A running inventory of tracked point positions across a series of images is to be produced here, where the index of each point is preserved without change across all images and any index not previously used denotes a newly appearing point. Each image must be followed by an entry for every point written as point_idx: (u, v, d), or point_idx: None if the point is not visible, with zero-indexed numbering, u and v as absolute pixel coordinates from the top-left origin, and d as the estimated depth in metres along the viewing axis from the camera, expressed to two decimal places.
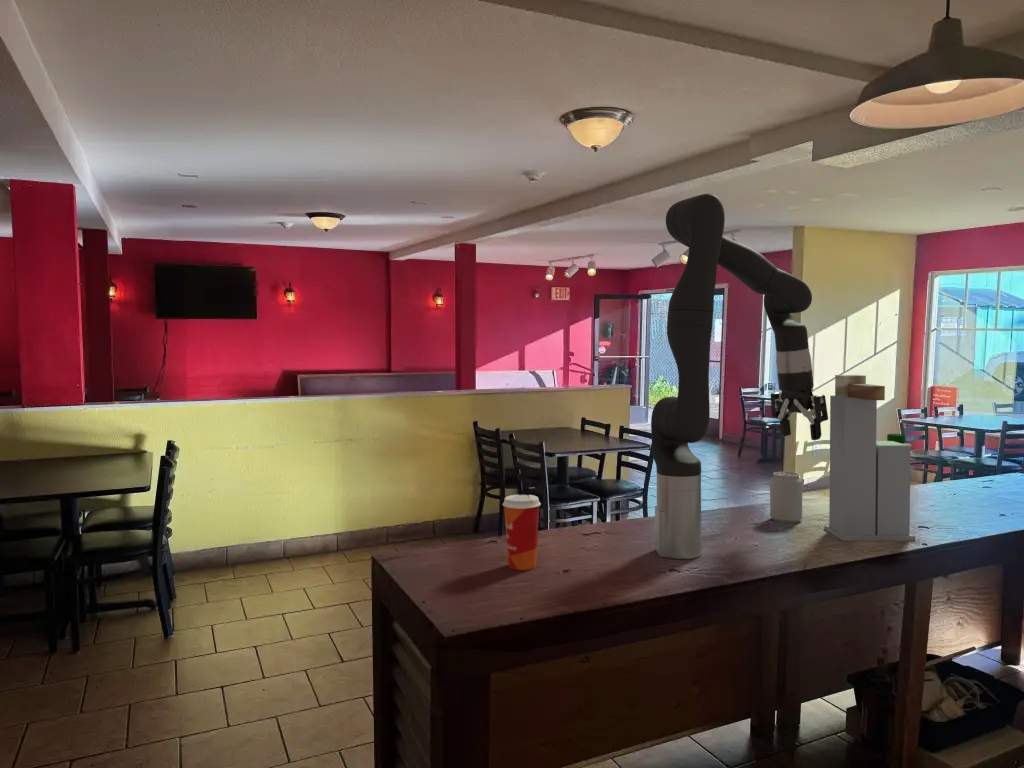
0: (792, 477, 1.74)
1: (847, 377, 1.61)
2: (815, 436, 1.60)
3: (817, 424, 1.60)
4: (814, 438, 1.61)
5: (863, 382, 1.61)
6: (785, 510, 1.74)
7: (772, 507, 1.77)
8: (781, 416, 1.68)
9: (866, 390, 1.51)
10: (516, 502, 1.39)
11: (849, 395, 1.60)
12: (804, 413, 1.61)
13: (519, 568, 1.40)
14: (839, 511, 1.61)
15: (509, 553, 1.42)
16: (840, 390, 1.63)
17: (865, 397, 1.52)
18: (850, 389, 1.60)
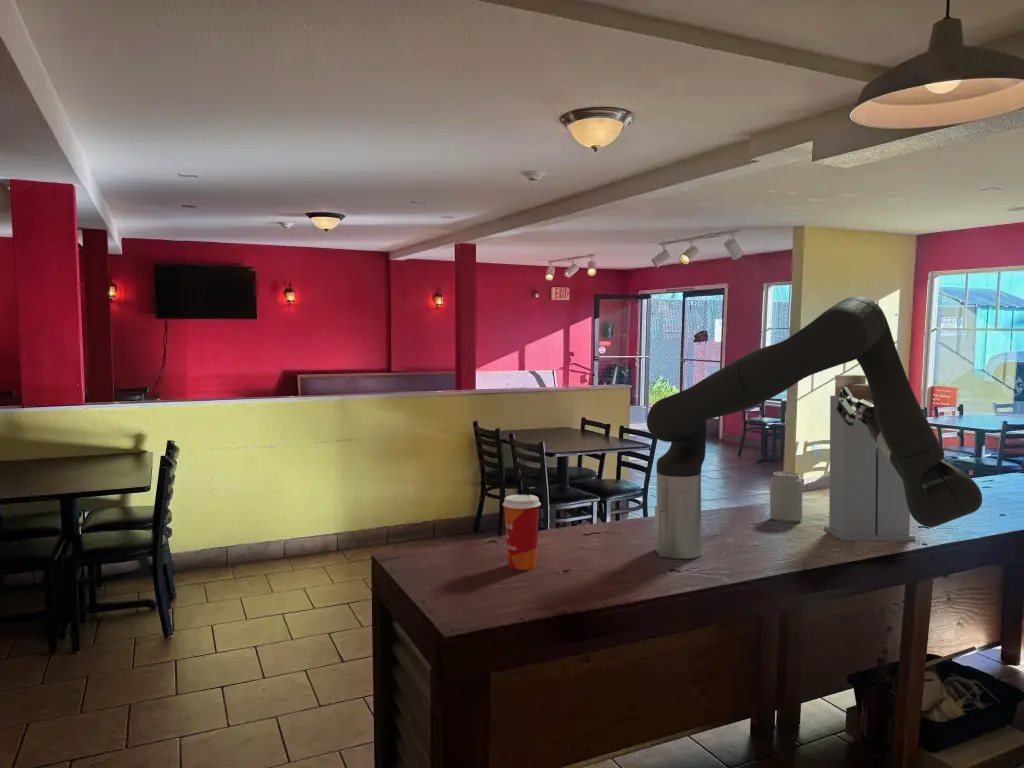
0: (792, 477, 1.74)
1: (847, 377, 1.61)
2: (842, 390, 1.42)
3: (844, 399, 1.40)
4: (843, 388, 1.42)
5: (863, 382, 1.61)
6: (785, 510, 1.74)
7: (772, 507, 1.77)
8: None
9: (866, 390, 1.51)
10: (516, 502, 1.39)
11: None
12: (863, 400, 1.37)
13: (519, 568, 1.40)
14: (839, 511, 1.61)
15: (509, 553, 1.42)
16: (840, 390, 1.63)
17: (865, 397, 1.52)
18: (850, 389, 1.60)
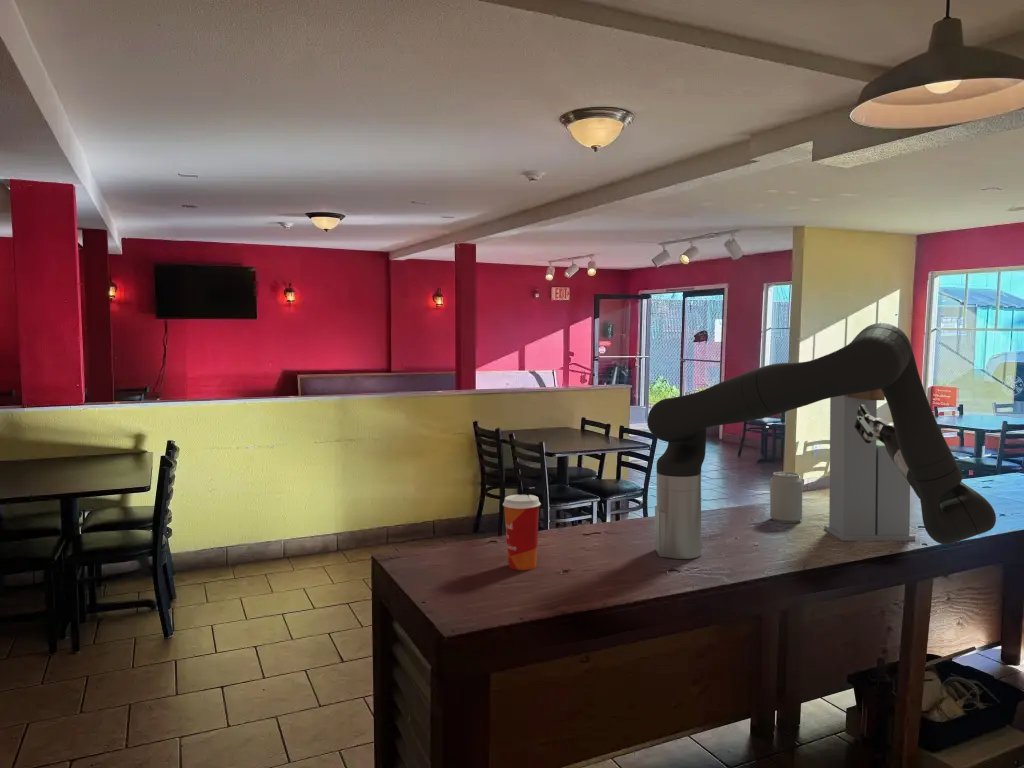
0: (792, 477, 1.74)
1: None
2: (860, 407, 1.47)
3: (862, 417, 1.45)
4: (861, 406, 1.47)
5: None
6: (785, 510, 1.74)
7: (772, 507, 1.77)
8: None
9: None
10: (516, 502, 1.39)
11: (849, 395, 1.60)
12: (880, 419, 1.42)
13: (519, 568, 1.40)
14: (839, 511, 1.61)
15: (509, 553, 1.42)
16: None
17: (865, 397, 1.52)
18: None
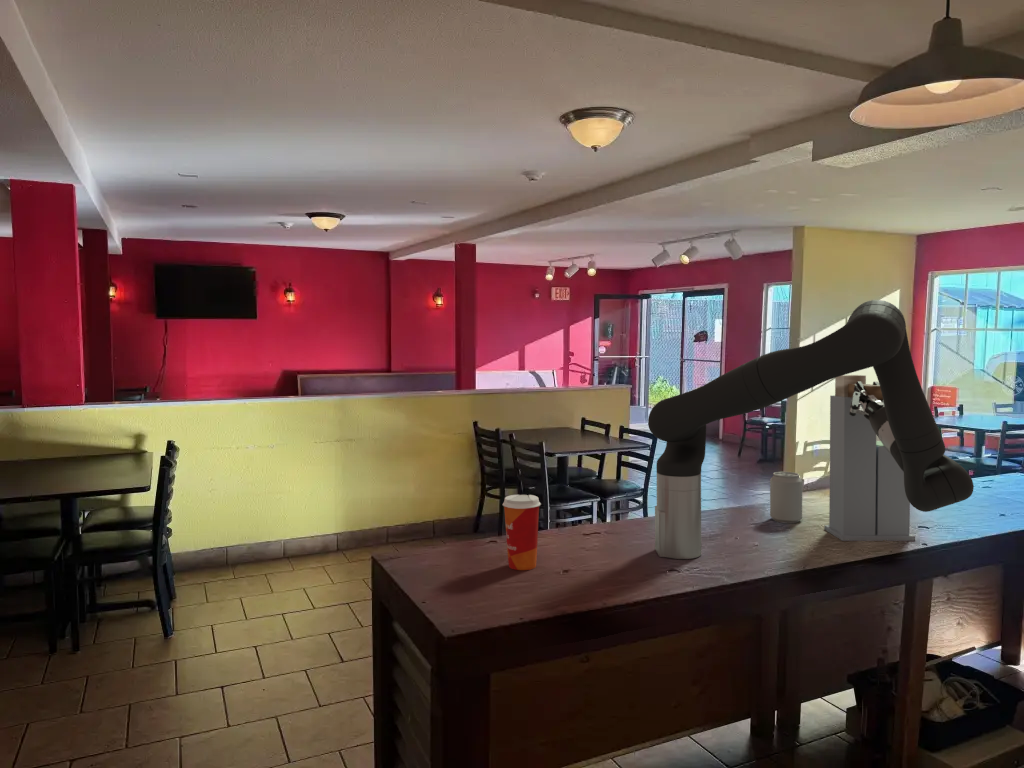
0: (792, 477, 1.74)
1: (847, 377, 1.61)
2: (857, 384, 1.54)
3: (859, 393, 1.52)
4: (857, 382, 1.55)
5: (863, 382, 1.61)
6: (785, 510, 1.74)
7: (772, 507, 1.77)
8: None
9: (866, 390, 1.51)
10: (516, 502, 1.39)
11: (849, 395, 1.60)
12: (871, 395, 1.49)
13: (519, 568, 1.40)
14: (839, 511, 1.61)
15: (509, 553, 1.42)
16: (840, 390, 1.63)
17: None
18: (850, 389, 1.60)
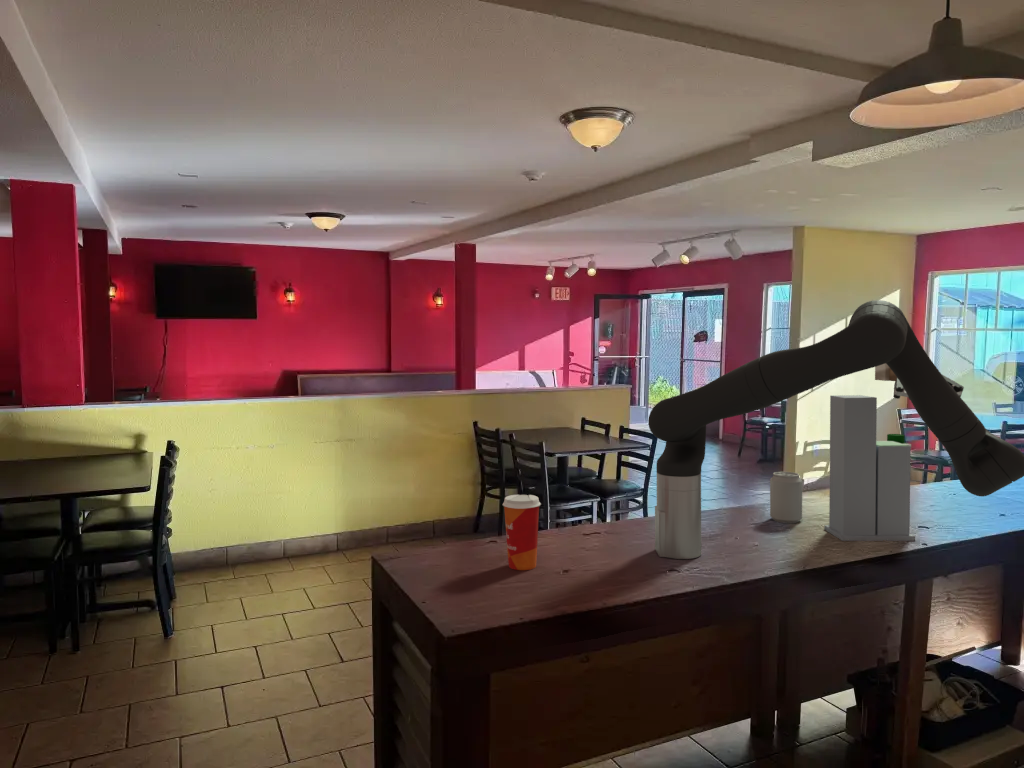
0: (792, 477, 1.74)
1: None
2: None
3: None
4: None
5: None
6: (785, 510, 1.74)
7: (772, 507, 1.77)
8: None
9: None
10: (516, 502, 1.39)
11: (890, 379, 1.56)
12: None
13: (519, 568, 1.40)
14: (839, 511, 1.61)
15: (509, 553, 1.42)
16: (881, 374, 1.59)
17: None
18: (892, 373, 1.56)
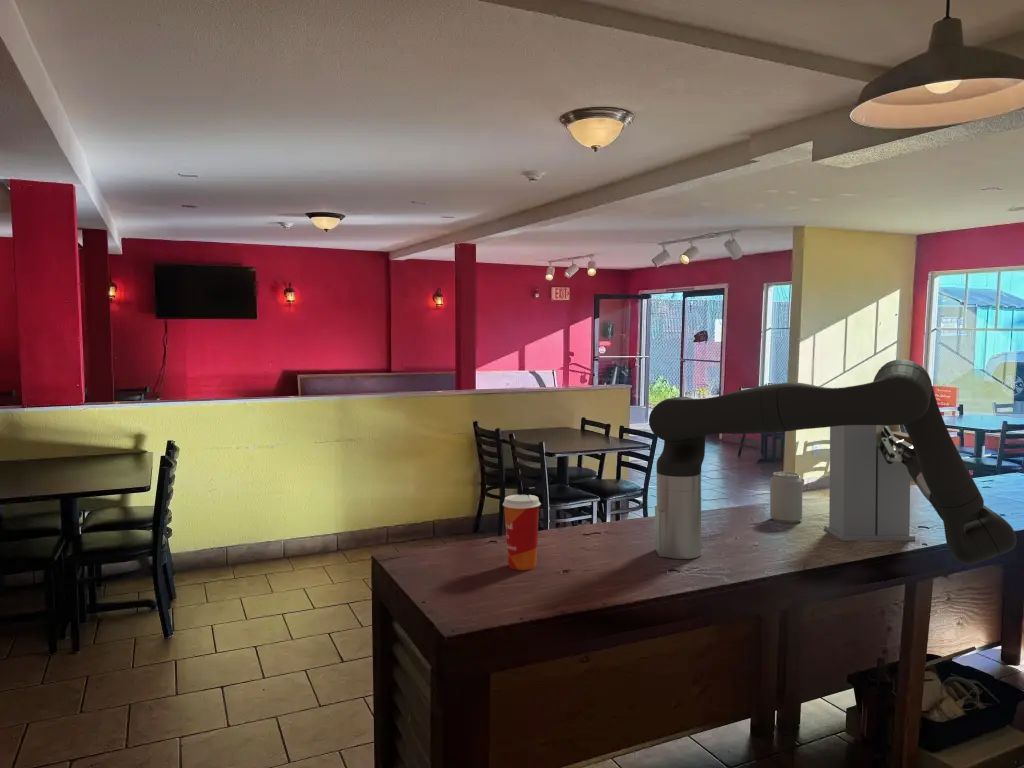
0: (792, 477, 1.74)
1: None
2: (884, 429, 1.54)
3: None
4: (884, 427, 1.54)
5: (897, 429, 1.61)
6: (785, 510, 1.74)
7: (772, 507, 1.77)
8: None
9: None
10: (516, 502, 1.39)
11: None
12: (903, 441, 1.49)
13: (519, 568, 1.40)
14: (839, 511, 1.61)
15: (509, 553, 1.42)
16: None
17: None
18: None
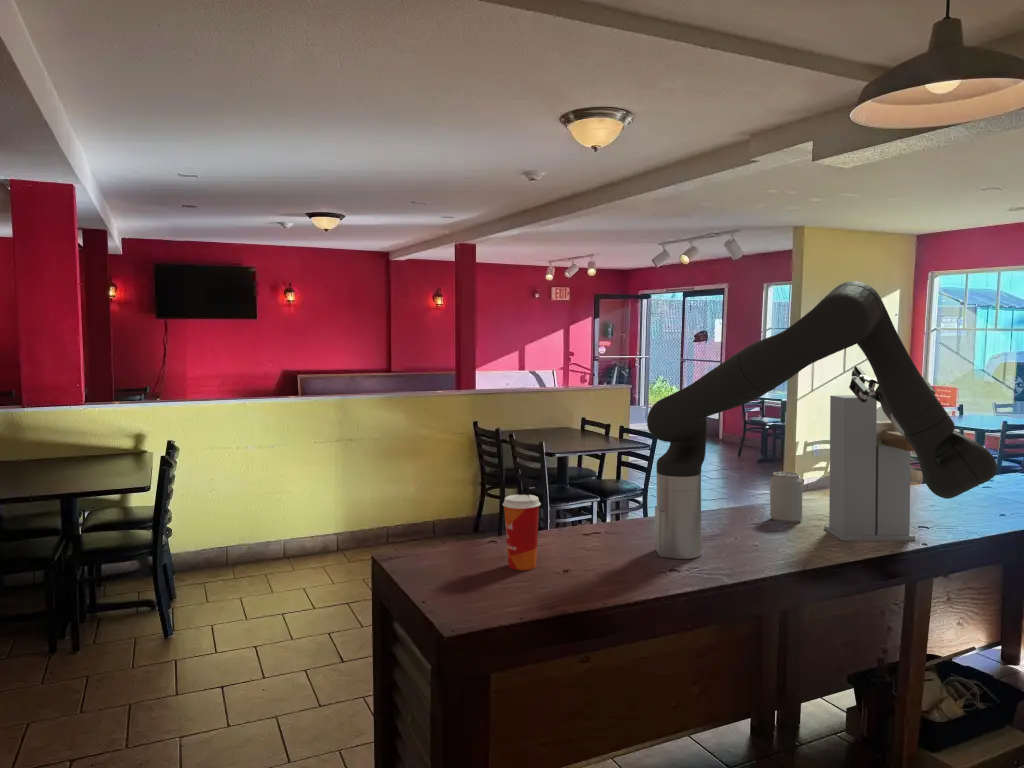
0: (792, 477, 1.74)
1: (881, 424, 1.61)
2: (855, 369, 1.44)
3: None
4: (855, 367, 1.44)
5: None
6: (785, 510, 1.74)
7: (772, 507, 1.77)
8: None
9: (902, 440, 1.51)
10: (516, 502, 1.39)
11: (883, 442, 1.60)
12: (875, 378, 1.39)
13: (519, 568, 1.40)
14: (839, 511, 1.61)
15: (509, 553, 1.42)
16: None
17: (901, 447, 1.52)
18: (884, 437, 1.60)
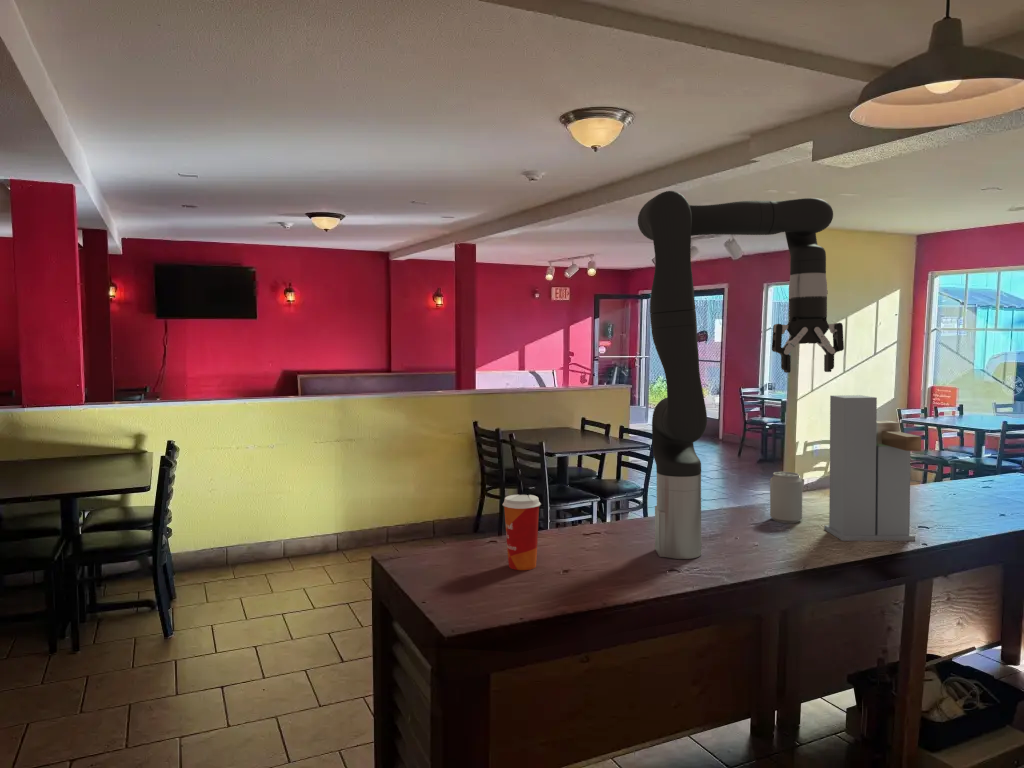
0: (792, 477, 1.74)
1: (881, 424, 1.61)
2: None
3: (781, 355, 1.52)
4: (784, 370, 1.52)
5: (897, 429, 1.61)
6: (785, 510, 1.74)
7: (772, 507, 1.77)
8: None
9: (902, 440, 1.51)
10: (516, 502, 1.39)
11: (883, 442, 1.60)
12: None
13: (519, 568, 1.40)
14: (839, 511, 1.61)
15: (509, 553, 1.42)
16: None
17: (901, 447, 1.52)
18: (884, 437, 1.60)
